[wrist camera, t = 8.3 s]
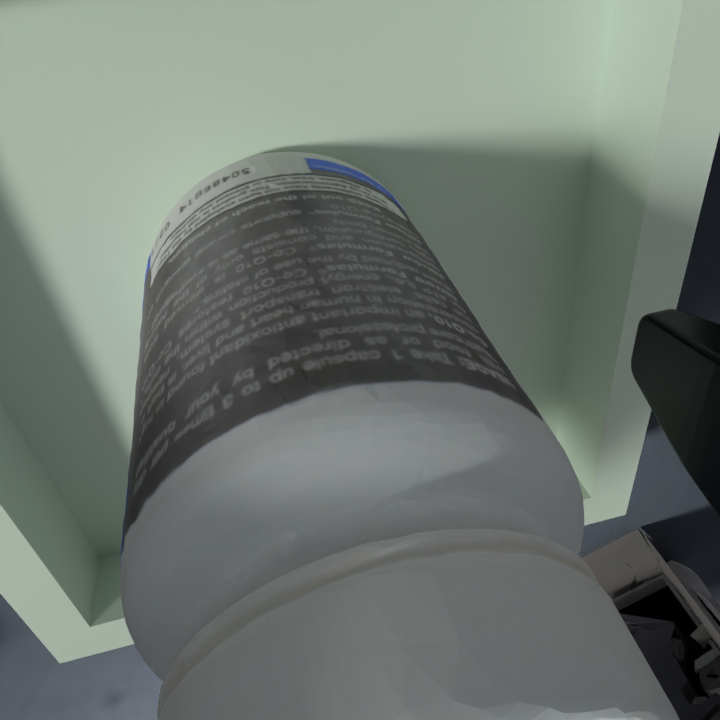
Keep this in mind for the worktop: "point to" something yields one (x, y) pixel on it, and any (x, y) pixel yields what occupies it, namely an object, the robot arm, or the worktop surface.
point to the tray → (368, 153)
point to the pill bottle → (348, 479)
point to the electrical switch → (666, 621)
